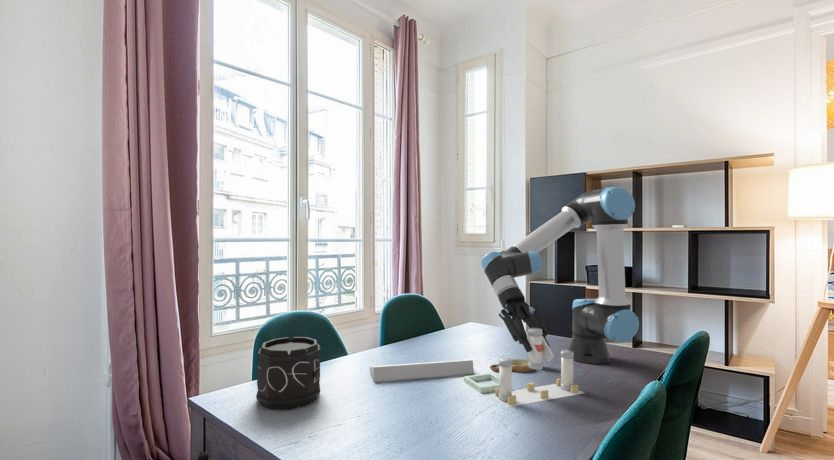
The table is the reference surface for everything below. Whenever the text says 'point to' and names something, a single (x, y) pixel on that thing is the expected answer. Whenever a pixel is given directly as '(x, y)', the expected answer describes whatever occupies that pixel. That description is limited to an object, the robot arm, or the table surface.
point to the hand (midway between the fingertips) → (544, 359)
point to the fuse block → (537, 394)
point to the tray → (482, 389)
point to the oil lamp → (515, 365)
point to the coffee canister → (288, 373)
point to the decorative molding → (421, 370)
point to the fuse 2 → (567, 369)
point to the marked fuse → (537, 341)
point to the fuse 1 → (505, 379)
